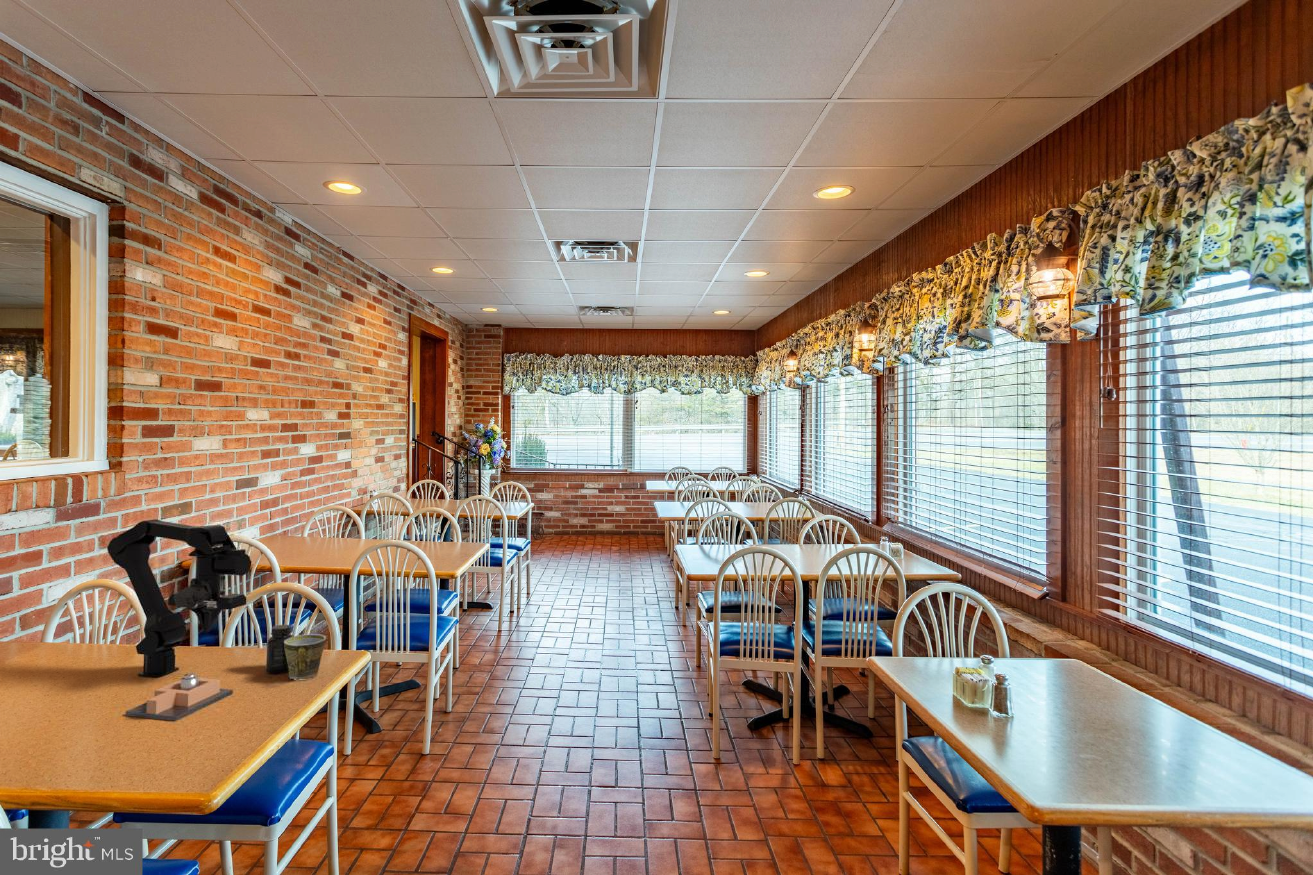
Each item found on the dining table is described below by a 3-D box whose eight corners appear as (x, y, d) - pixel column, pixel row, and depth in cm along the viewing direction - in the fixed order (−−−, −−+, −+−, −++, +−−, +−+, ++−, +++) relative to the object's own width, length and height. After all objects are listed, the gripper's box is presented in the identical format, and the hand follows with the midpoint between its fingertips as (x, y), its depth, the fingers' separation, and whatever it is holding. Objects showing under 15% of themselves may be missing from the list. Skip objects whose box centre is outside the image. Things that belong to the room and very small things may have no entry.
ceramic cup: (286, 671, 175) (287, 635, 175) (327, 668, 179) (328, 632, 179) (276, 689, 163) (278, 650, 163) (320, 685, 167) (321, 646, 167)
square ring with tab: (133, 711, 145) (134, 698, 145) (187, 688, 159) (188, 676, 159) (168, 715, 144) (169, 702, 144) (219, 691, 158) (220, 679, 158)
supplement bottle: (300, 666, 179) (301, 623, 179) (283, 675, 172) (285, 631, 173) (277, 665, 180) (278, 622, 180) (259, 673, 173) (261, 629, 173)
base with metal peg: (125, 715, 145) (126, 688, 145) (186, 689, 161) (187, 664, 161) (175, 721, 144) (176, 692, 144) (232, 693, 159) (233, 668, 159)
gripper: (149, 577, 163) (147, 638, 163) (214, 581, 160) (212, 643, 160) (187, 569, 174) (185, 626, 174) (249, 573, 171) (246, 631, 171)
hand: (206, 632), depth 170 cm, fingers closed
